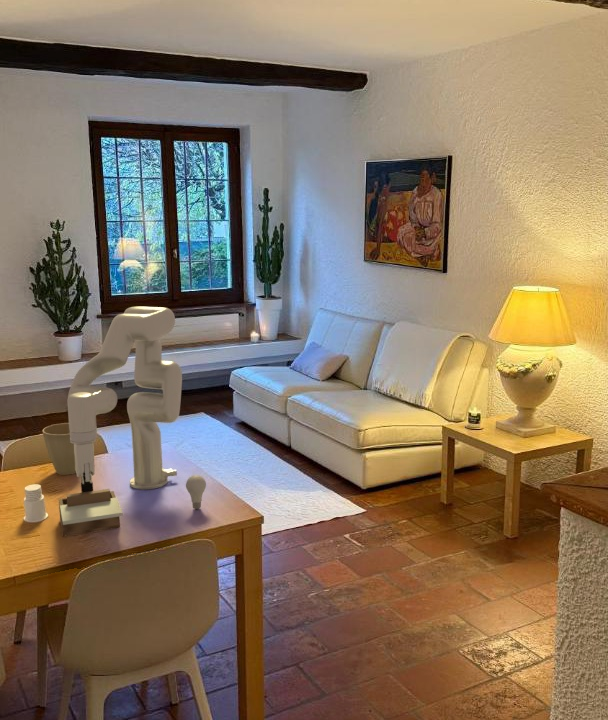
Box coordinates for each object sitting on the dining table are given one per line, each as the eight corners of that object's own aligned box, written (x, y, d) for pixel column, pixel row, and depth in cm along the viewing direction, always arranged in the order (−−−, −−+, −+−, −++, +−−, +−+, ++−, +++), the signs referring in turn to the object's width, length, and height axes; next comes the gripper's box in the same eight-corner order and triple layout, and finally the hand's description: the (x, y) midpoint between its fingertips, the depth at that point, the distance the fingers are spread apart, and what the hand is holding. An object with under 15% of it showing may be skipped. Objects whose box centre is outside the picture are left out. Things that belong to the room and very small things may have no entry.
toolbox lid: (117, 500, 219) (116, 487, 218) (122, 515, 208) (122, 502, 207) (60, 508, 213) (59, 495, 212) (63, 524, 202) (61, 511, 201)
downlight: (29, 512, 229) (26, 481, 226) (52, 512, 228) (49, 482, 226) (19, 524, 221) (15, 492, 218) (42, 524, 221) (39, 493, 218)
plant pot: (82, 478, 256) (79, 434, 253) (39, 479, 257) (36, 434, 254) (94, 464, 271) (92, 422, 268) (54, 464, 271) (51, 422, 268)
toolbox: (114, 512, 228) (113, 491, 226) (120, 527, 217) (118, 505, 215) (60, 520, 222) (58, 498, 221) (62, 536, 211) (61, 513, 210)
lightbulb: (210, 506, 232) (209, 473, 229) (201, 514, 226) (200, 480, 224) (192, 504, 234) (191, 471, 231) (183, 511, 228) (182, 477, 226)
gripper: (68, 429, 219) (72, 488, 223) (71, 444, 205) (76, 506, 209) (94, 427, 222) (98, 485, 225) (99, 441, 208) (103, 502, 212)
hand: (87, 495), depth 217 cm, fingers closed
